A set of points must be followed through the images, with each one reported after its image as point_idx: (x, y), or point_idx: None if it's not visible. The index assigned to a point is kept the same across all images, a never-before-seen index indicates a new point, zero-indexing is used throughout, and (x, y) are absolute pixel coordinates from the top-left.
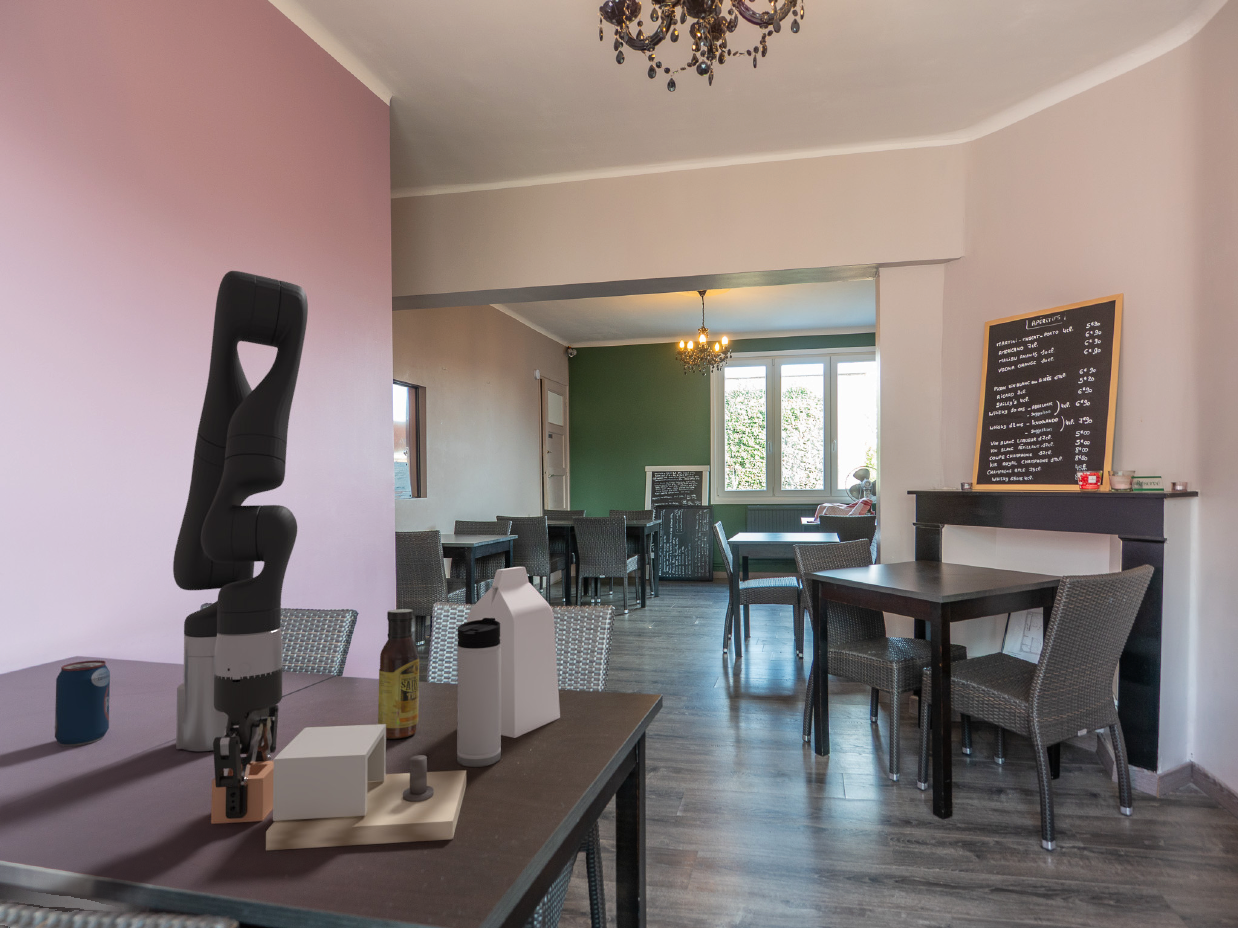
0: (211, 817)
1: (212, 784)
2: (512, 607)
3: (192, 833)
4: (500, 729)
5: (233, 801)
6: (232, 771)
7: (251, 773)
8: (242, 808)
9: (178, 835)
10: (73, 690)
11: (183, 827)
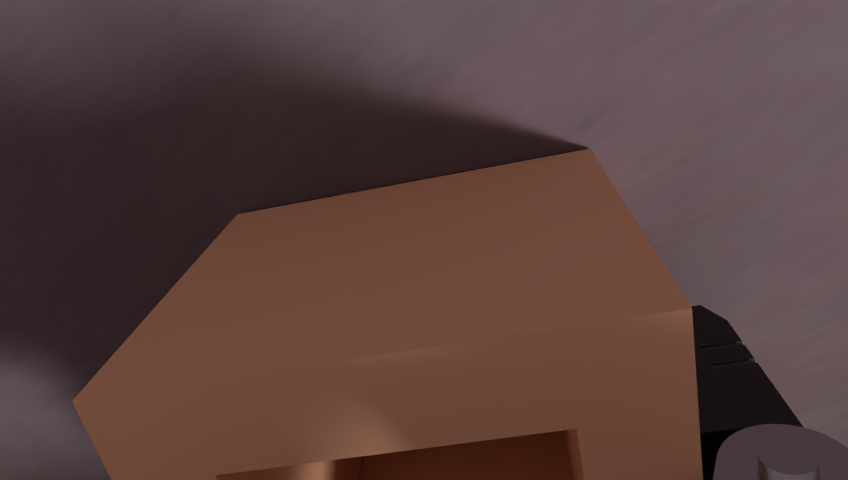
0: (222, 231)
1: (101, 377)
2: None
3: (86, 180)
4: None
5: None
6: (401, 441)
7: (578, 475)
8: None
9: (33, 102)
10: None
11: (142, 49)
